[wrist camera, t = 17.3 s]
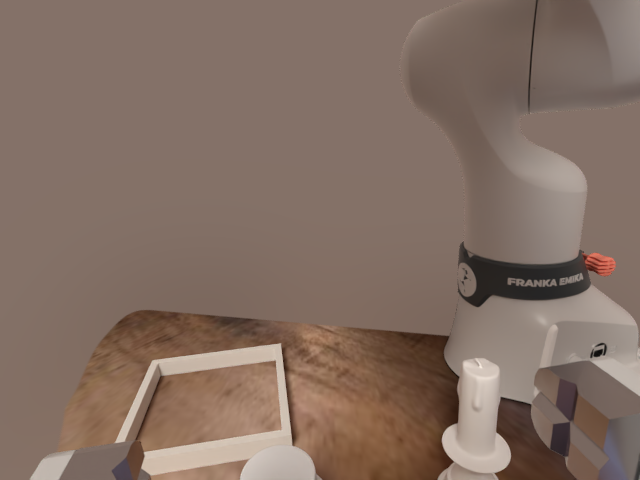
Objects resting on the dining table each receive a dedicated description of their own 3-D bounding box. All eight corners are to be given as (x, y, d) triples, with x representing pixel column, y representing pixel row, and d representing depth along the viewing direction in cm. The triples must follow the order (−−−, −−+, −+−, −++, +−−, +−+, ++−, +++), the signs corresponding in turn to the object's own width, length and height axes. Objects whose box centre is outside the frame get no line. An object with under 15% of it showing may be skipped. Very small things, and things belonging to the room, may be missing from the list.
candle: (424, 502, 29) (427, 365, 26) (451, 456, 33) (457, 332, 30) (498, 546, 26) (513, 396, 23) (518, 489, 30) (534, 354, 27)
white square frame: (281, 355, 50) (280, 343, 49) (292, 451, 35) (291, 435, 34) (155, 373, 47) (152, 360, 47) (108, 482, 33) (104, 465, 32)
